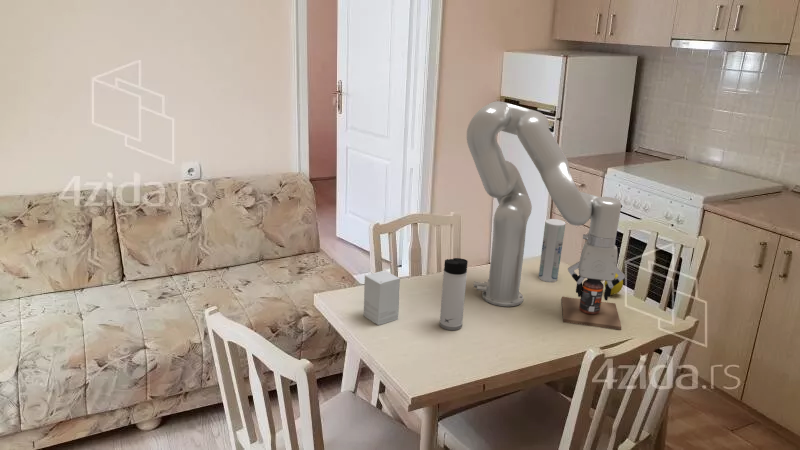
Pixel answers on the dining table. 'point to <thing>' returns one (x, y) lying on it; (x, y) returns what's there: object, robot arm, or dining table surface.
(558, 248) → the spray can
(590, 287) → the supplement bottle
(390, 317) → the supplement box
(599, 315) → the walnut board
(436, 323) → the dining table surface
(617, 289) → the lemon
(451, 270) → the travel mug
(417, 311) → the dining table surface
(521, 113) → the robot arm
